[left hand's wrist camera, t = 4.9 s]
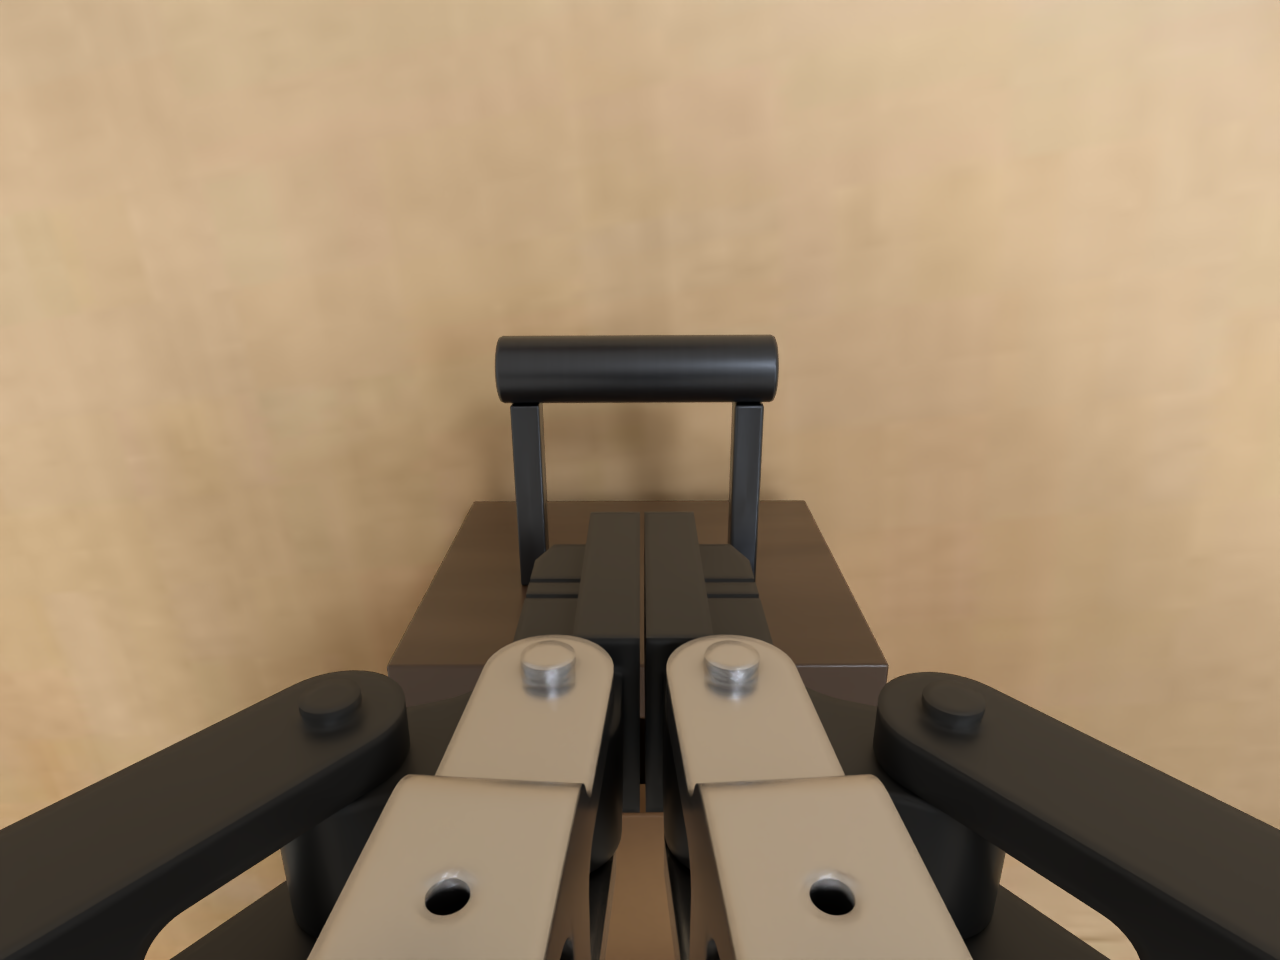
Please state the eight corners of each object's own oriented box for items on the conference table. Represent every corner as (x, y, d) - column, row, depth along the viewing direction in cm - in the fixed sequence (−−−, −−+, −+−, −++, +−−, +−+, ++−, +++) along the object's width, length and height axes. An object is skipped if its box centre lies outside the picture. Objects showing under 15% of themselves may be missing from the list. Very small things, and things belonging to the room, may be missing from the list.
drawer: (457, 303, 21) (347, 374, 13) (818, 302, 21) (923, 372, 13) (514, 1004, 30) (467, 1300, 22) (770, 1004, 30) (816, 1300, 22)
